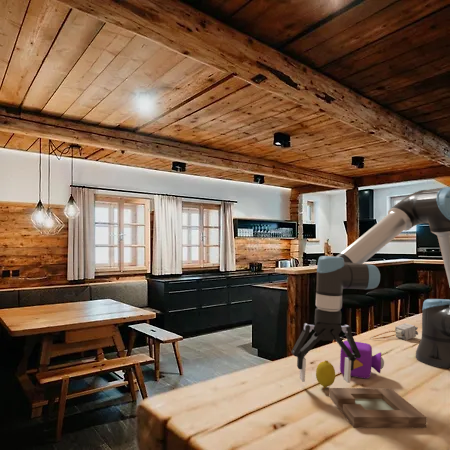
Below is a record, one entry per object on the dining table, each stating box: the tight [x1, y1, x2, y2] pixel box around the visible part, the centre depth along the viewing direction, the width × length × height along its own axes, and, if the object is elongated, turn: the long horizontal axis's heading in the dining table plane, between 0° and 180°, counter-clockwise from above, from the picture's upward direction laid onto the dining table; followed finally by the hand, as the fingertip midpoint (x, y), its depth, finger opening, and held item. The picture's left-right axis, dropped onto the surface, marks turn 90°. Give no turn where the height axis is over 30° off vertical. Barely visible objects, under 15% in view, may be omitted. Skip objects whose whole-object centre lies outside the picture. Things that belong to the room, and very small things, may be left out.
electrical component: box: [369, 322, 419, 341], centre depth 165 cm, size 24×6×5 cm, turn 113°
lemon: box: [315, 360, 336, 389], centre depth 110 cm, size 6×6×8 cm
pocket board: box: [328, 387, 427, 429], centre depth 96 cm, size 18×16×2 cm
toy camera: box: [339, 339, 385, 380], centre depth 122 cm, size 11×14×10 cm
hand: (324, 380), depth 109 cm, fingers open, 13 cm apart
